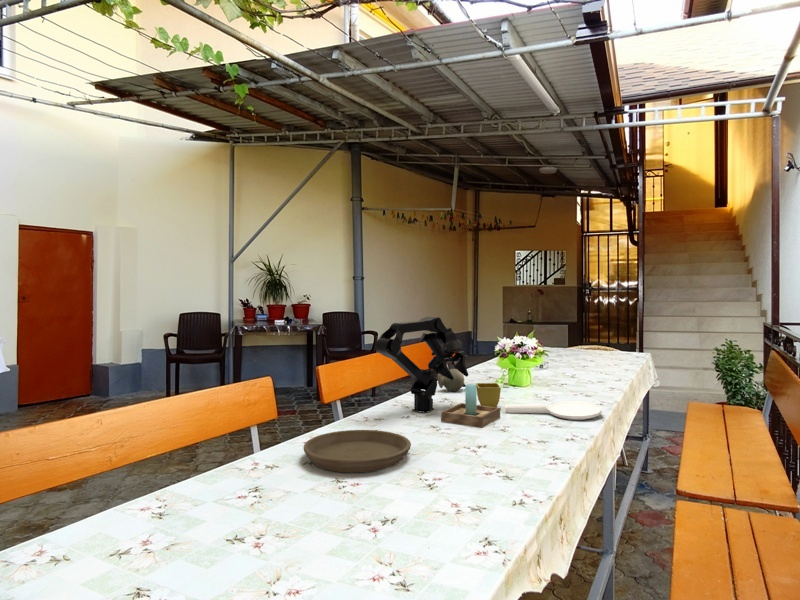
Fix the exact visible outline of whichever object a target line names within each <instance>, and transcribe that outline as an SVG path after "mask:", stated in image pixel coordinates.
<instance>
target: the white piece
mask: <svg viewBox="0 0 800 600" xmlns="http://www.w3.org/2000/svg"><path fill="white" fill-rule="evenodd" d="M504 406H505V413H506V414H539V413H540V414H548V413H549V414H551V416H555V417H556V418H559V419H564V420H572V421H573V420H574V421H579V420H590V419H593V418H596V417H598V416H599V415H601V414H602V413H603V412H602V411H603V407H602V406H601V405H599V404H597V403H593V402H590V401H583V400H564V401H558V402H554V403H552V404H550V405H548V406H547V405H546V404H545V403H531V404H530V403H527V404H526V403H524V404H522V403H517V404H505V405H504Z"/></svg>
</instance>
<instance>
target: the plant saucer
mask: <svg viewBox="0 0 800 600" xmlns="http://www.w3.org/2000/svg"><path fill="white" fill-rule="evenodd" d="M411 447H412V443H411V440H410V439H408V437H406V436H404V435H401V434H399V433H397V432H396V433H395V432H391V431H386V430H378V429H377V430H376V429H348V430H347V429H346V430H339V431H333V432H331V431H330V432H327V433H324V434H323V433H322V434H319V435H317V436H314V437H311V438H310V439H309V440H307V441H306V442H305V443H304V445H303V452H304V453H305V455H306V457H307V458H308V459H310V460H311V463H313V465H315V466H317V467H318V468H320V469H323V470H327V471H331V472H338V473H347V474H348V473H354V474H355V473H359V474H360V473H369V472H371V473H372V472H375V471H378V472H379V471H381V470H386V469H389V468H390V467H394V466H396V465H398V464H400V462H401V461H402V460H403V458H404V457H406V455H407V454H408V453H409V451H410V449H411Z"/></svg>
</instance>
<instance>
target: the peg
mask: <svg viewBox="0 0 800 600" xmlns="http://www.w3.org/2000/svg"><path fill="white" fill-rule="evenodd" d="M464 390H465V391H464V393H465V396H464V397H465V402H464V404H465V408H466V415H473V416H477V405H478V404H477V402H478V401H477V399H478V396H477V388H476V384H470V383H469V384H465V387H464Z"/></svg>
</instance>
